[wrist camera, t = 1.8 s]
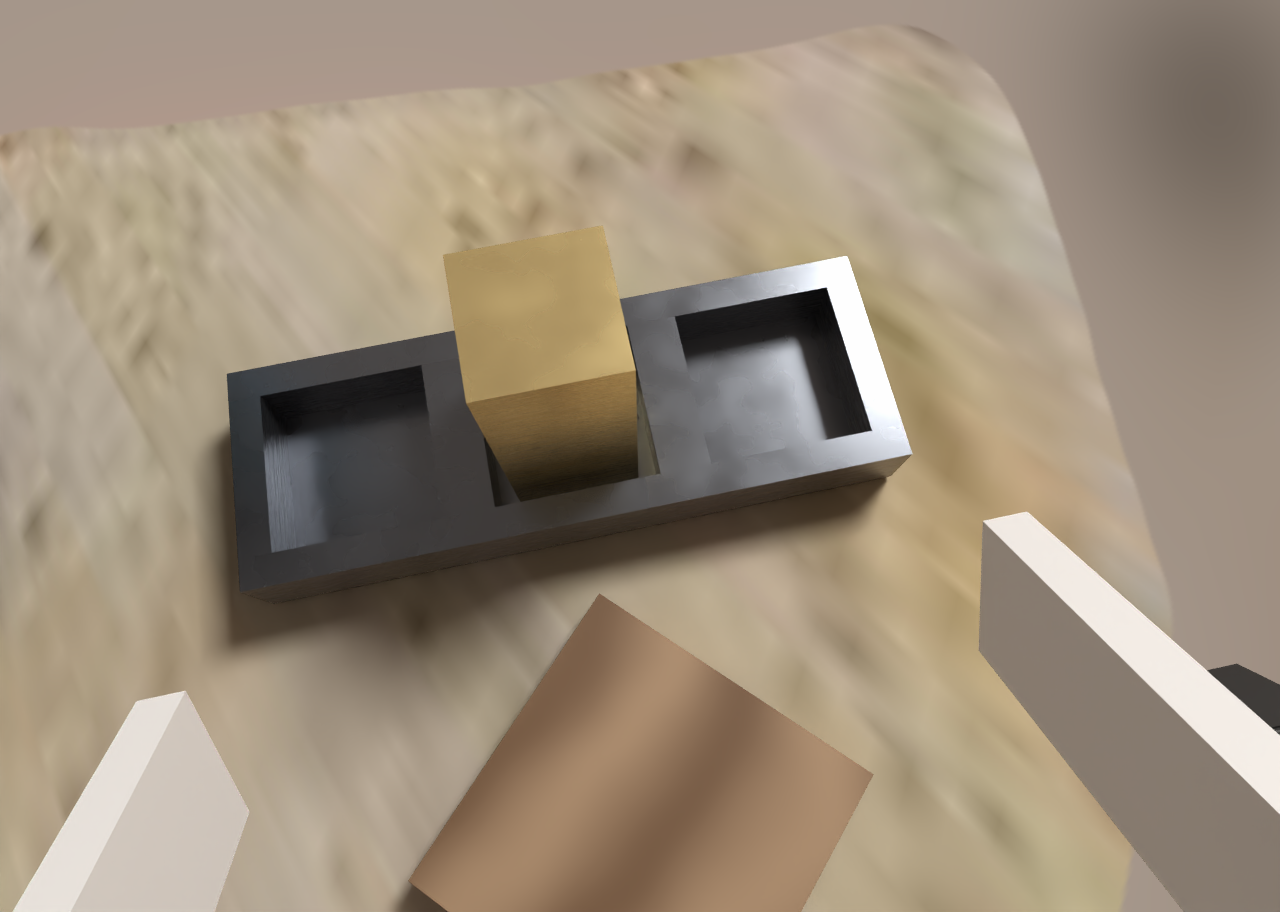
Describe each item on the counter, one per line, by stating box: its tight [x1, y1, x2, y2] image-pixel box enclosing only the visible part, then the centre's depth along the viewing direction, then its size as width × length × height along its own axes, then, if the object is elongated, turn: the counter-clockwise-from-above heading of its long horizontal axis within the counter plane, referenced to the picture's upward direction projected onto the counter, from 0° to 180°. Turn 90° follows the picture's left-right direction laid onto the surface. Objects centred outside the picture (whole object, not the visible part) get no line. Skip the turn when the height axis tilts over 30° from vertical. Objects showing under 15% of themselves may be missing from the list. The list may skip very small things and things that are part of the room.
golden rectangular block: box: [443, 226, 638, 502], centre depth 30 cm, size 5×5×11 cm
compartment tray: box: [227, 256, 912, 604], centre depth 34 cm, size 26×9×3 cm, turn 102°
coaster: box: [408, 594, 874, 912], centre depth 30 cm, size 12×12×2 cm
